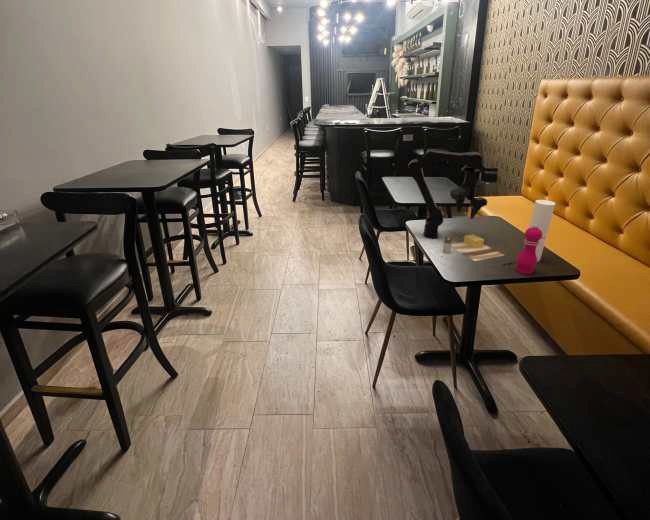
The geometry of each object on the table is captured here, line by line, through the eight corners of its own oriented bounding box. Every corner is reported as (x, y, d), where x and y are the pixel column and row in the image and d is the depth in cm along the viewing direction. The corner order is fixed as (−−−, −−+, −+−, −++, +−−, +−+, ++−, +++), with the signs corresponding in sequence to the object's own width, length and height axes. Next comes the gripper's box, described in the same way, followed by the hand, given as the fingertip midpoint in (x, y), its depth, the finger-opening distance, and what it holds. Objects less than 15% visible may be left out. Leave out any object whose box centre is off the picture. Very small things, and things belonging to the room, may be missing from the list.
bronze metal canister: (440, 253, 171) (443, 237, 167) (446, 252, 172) (449, 236, 168) (445, 256, 168) (447, 239, 165) (451, 255, 169) (454, 238, 166)
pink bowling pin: (536, 275, 153) (549, 228, 144) (516, 274, 154) (528, 226, 145) (531, 267, 159) (543, 221, 150) (512, 266, 160) (523, 220, 151)
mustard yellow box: (463, 242, 178) (464, 235, 177) (472, 241, 180) (473, 234, 178) (473, 248, 172) (475, 241, 171) (482, 246, 174) (484, 239, 173)
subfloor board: (447, 247, 177) (447, 244, 176) (475, 242, 182) (475, 239, 181) (473, 264, 162) (474, 261, 161) (503, 258, 167) (504, 255, 166)
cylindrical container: (538, 256, 169) (553, 200, 158) (541, 262, 163) (556, 205, 152) (520, 253, 171) (534, 199, 160) (522, 260, 165) (536, 204, 154)
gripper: (442, 178, 176) (438, 211, 183) (469, 188, 160) (463, 224, 167) (463, 176, 180) (457, 208, 187) (491, 186, 164) (484, 221, 171)
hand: (464, 215), depth 178 cm, fingers open, 9 cm apart
